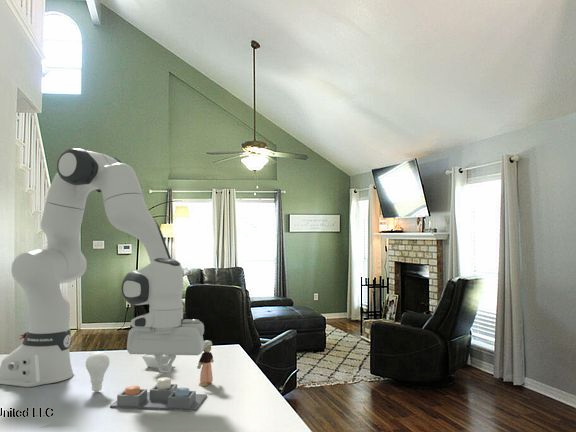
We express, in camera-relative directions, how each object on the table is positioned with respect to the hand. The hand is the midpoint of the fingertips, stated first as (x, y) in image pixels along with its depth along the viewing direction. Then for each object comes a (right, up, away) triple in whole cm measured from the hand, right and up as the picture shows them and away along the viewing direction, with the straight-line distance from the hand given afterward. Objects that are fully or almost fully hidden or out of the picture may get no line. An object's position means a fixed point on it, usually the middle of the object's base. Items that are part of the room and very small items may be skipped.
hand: (165, 371), depth 125 cm
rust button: (-7, -6, -5) cm, 10 cm away
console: (-1, -7, -3) cm, 8 cm away
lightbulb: (-20, -7, +4) cm, 22 cm away
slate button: (+6, -6, -6) cm, 10 cm away
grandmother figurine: (+9, -8, +13) cm, 18 cm away
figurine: (-11, -9, +31) cm, 34 cm away
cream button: (0, -5, 0) cm, 5 cm away
